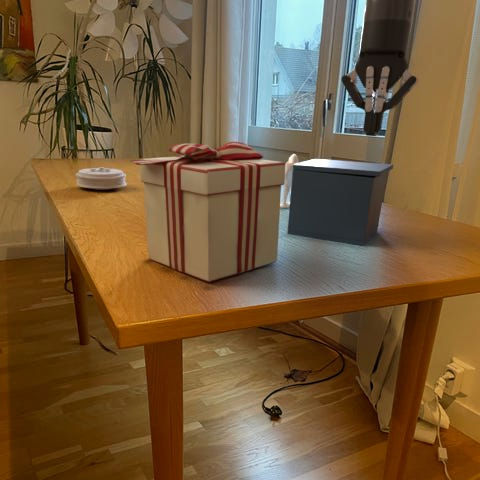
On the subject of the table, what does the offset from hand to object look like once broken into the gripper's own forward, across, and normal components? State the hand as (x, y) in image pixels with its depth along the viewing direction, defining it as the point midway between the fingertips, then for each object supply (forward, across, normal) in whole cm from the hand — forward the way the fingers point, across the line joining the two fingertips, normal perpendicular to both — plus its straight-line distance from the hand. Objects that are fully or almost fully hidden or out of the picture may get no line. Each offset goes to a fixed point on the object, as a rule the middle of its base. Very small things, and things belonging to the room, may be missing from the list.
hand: (371, 135), depth 84 cm
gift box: (+18, +17, +29) cm, 38 cm away
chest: (+18, +5, 0) cm, 19 cm away
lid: (+18, +70, -9) cm, 73 cm away
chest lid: (+6, +4, 0) cm, 7 cm away
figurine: (+18, +21, -18) cm, 33 cm away
